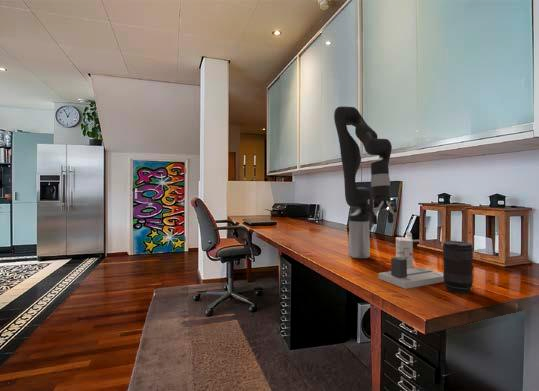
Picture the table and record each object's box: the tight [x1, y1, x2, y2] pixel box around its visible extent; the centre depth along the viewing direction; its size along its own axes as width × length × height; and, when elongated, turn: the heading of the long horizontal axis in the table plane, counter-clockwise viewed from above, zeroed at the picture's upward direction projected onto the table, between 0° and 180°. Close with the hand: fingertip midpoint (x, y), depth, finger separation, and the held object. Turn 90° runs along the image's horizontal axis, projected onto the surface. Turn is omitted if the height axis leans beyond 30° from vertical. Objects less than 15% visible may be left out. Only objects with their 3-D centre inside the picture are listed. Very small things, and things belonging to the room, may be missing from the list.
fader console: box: [378, 266, 444, 289], centre depth 104 cm, size 12×21×2 cm, turn 112°
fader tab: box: [390, 256, 407, 278], centre depth 101 cm, size 4×3×6 cm
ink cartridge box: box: [395, 230, 414, 269], centre depth 120 cm, size 9×5×15 cm, turn 168°
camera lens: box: [442, 240, 474, 294], centre depth 93 cm, size 8×8×15 cm
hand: (382, 223), depth 123 cm, fingers open, 8 cm apart
